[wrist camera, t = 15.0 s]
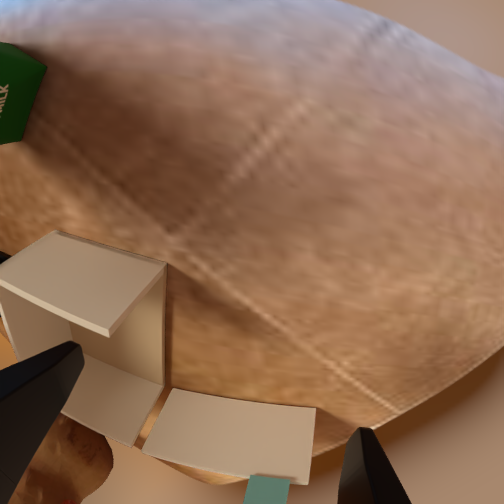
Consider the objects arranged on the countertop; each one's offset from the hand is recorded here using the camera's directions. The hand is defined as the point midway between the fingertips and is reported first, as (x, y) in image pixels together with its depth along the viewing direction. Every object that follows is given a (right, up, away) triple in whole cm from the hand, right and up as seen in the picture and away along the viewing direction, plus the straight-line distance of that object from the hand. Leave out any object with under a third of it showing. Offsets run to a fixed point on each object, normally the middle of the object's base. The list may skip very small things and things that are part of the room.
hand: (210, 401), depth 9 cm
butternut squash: (-23, -19, +29) cm, 42 cm away
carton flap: (0, -9, +19) cm, 21 cm away
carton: (-11, -1, +18) cm, 21 cm away
